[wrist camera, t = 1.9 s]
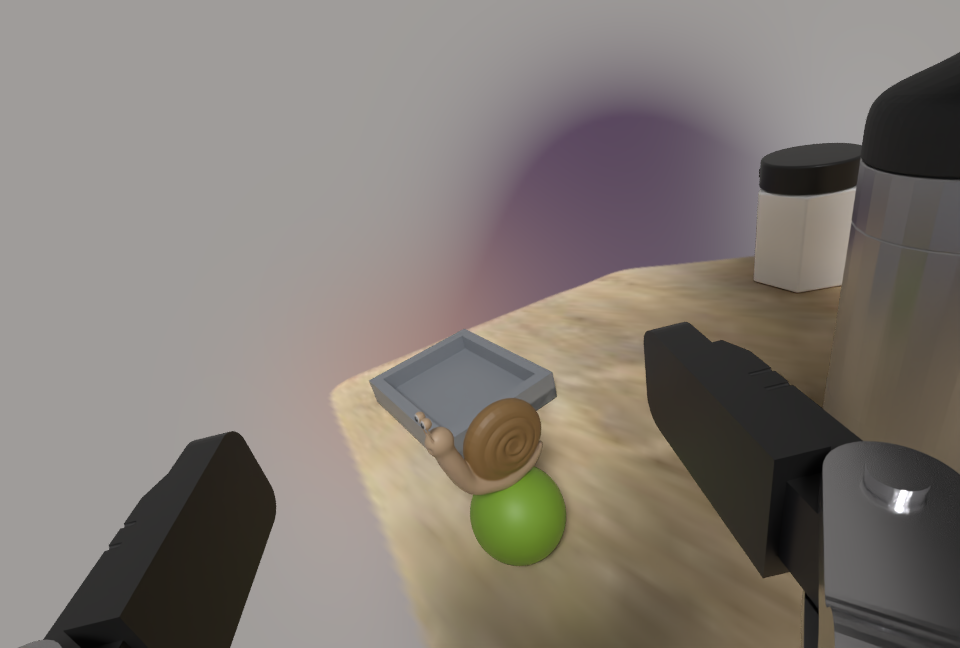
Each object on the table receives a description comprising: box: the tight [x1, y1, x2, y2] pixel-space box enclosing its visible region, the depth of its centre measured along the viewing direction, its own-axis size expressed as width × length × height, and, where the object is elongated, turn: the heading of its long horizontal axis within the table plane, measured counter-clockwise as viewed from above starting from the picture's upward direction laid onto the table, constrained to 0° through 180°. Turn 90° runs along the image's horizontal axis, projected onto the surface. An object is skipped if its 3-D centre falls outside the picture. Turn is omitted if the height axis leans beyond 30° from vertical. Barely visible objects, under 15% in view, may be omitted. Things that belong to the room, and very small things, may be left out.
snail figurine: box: [414, 398, 566, 566], centre depth 25 cm, size 5×6×12 cm
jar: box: [754, 143, 862, 293], centre depth 46 cm, size 9×8×12 cm
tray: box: [369, 329, 557, 459], centre depth 42 cm, size 11×13×2 cm
